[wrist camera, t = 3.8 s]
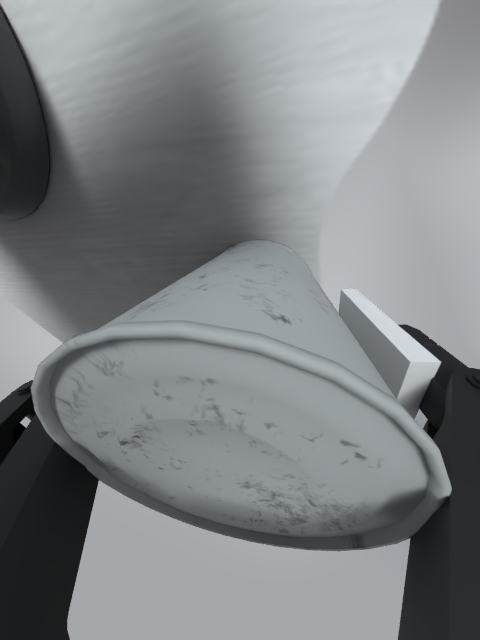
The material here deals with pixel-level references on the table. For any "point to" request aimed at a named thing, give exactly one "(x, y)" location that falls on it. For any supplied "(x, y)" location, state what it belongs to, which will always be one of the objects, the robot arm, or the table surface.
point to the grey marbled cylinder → (244, 411)
